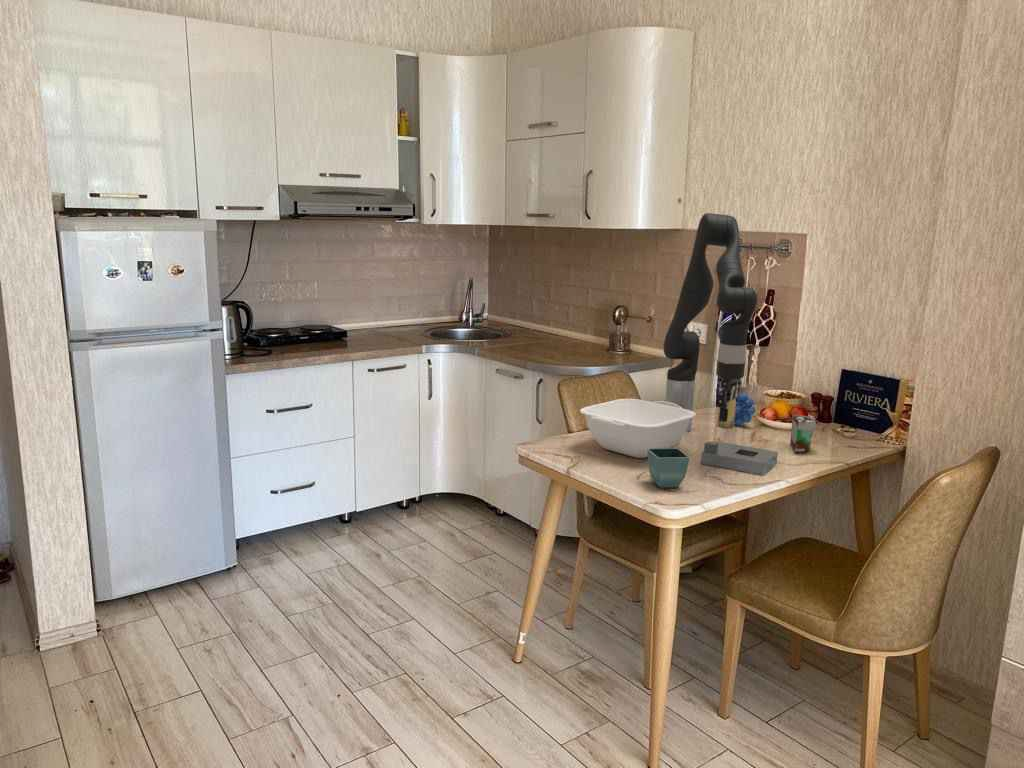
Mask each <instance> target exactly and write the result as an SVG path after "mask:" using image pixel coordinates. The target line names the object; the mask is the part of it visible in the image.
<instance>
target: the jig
mask: <svg viewBox="0 0 1024 768" xmlns="http://www.w3.org/2000/svg"><path fill="white" fill-rule="evenodd" d="M703 445H704V448H703V451H701V457H700V464H701V465H706V466H712V467H718V468H722V469H727V470H731V471H732V470H733V471H737V472H743V473H748V474H754V475H758V476H765V475H766V474H767V473H768V472H770V470H771V469H772V468H773V467H775V465H777V463H778V454H779V452H778V451H775V450H770V449H764V448H758V447H753V446H752V447H751V446H746V445H741V444H735V443H730V442H723V441H718V440H717V441H715V442H714V441H710V440H708V441H706V442H705V443H704V444H703Z"/></svg>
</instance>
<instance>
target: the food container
mask: <svg viewBox="0 0 1024 768" xmlns="http://www.w3.org/2000/svg"><path fill="white" fill-rule="evenodd" d="M791 420H792V421H791V430H790V431H791V432H790V444H789V445H790V449H792V452H793V453H794V455H795V454H796V455H804V454H808V453H809V452H810V451H811V450H810V449H811V444H812V439H813V433H814V429H816V428H817V425H816V424H817V423H816V421H815V419H814V418H813V417H810V416H806V415H803V414H802V415H801V414H795V413H792V417H791Z"/></svg>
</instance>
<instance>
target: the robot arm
mask: <svg viewBox="0 0 1024 768" xmlns="http://www.w3.org/2000/svg"><path fill="white" fill-rule="evenodd" d="M738 224H739V223H738V221H737V219H736V217H734V216H732V215H729V214H720V213H719V214H718V213H709V212H706V213H704V214H703V215H702V216H701V218H700V220H699V223H698V226H697V230H696V233H695V234H696V235H695V239H694V243H693V244H694V245H693V248H692V249H693V250H692V251H691V252H692V253H691V257H690V261H689V265H688V268H687V271H686V274H685V277H684V280H683V283H682V286H681V290H680V294H679V296H678V297H679V299H678V302H677V304H676V308H675V311H674V315H673V318H672V319H671V322H670V325H669V327H668V330H667V331H666V335H665V337H664V341H663V354H664V356H665V357H666V358H667V359H669V360H681V362H680V363H678V364H677V365H676V366H673V367H671V368H669V369H668V370H667V372H666V385H665V386H666V389H665V399H664V400H663V401H666V402H671V403H674V404H677V405H678V406H680V407H682V409H687V410H690V411H693V412H694V401H695V399H694V398H695V387H696V385H695V384H696V381H695V380H696V374H697V372H698V365H699V355H700V348H701V347H700V346H701V343H700V337H699V335H698V333H697V332H695V331H686V328H687V327H688V326H689V324H690V323H691V322H692V321H693V320H694V319H695V318H696V317H697V316H698V315H700V313H702V311H703V310H705V308H706V307H707V305H708V304H709V302H710V298H711V296H712V293H713V290H714V289H713V288H714V283H715V282H714V278H713V275H712V272H711V269H710V267H709V264H708V261H707V257H706V256H707V255H706V253H707V247H708V246H715V247H725V248H726V249H725V251H724V252H723V253H722V255H721V256H720V257H719V259H718V260H717V262H716V266H715V267H716V269H715V271H716V275H717V280H718V294H717V297H716V307H717V308H718V310H719V311H720V312H722V313H724V314H740V315H739V316H738V317H737V319H734V320H728V321H725V322H723V323H722V324H721V327H720V336H719V337H720V338H719V344H718V345H719V346H718V350H717V358H716V359H717V361H716V370H715V371H716V372H715V375H716V376H717V377H719V378H721V381H720V382H719V383H720V384H719V387H716V388H715V391H716V392H715V394H716V396H715V397H716V398H715V399H716V408H718V409H719V408H720V411H719V410H718V412H719V421H722V422H726V421H727V418H728V408H729V402H730V401H731V400H732V398H734V399H736V402H737V401H738V398H739V395H740V393H741V385H742V380H740V379H743V378H744V377H745V370H746V361H747V339H748V338H747V337H748V331H749V326H750V323H751V321H752V318H753V314H754V313H755V309H756V307H757V305H758V294H757V292H756V291H755V290H754V289H753V288H752V287H745V284H746V278H745V274H744V271H743V266H742V263H741V254H740V251H741V250H740V231H739V225H738ZM726 397H728V398H726ZM722 401H723V403H722ZM692 425H693V418H691V419H690V421H689V424H688V426H687V429H686V431H685V433H687V432H690V431H692Z"/></svg>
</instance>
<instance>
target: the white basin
mask: <svg viewBox="0 0 1024 768" xmlns="http://www.w3.org/2000/svg"><path fill="white" fill-rule="evenodd" d="M579 413H581V414H582V415H584V417H585V421H586V425H587V427H588V430H589V432H590V434H591V436H592V437H593V438H594V440H595V441H596V442H597V443H598V444H599V445H600V446H601V447H602V448H603V449H606V450H607V451H611V452H615V453H619V454H623V455H626V456H629V457H632V458H637V459H645V458H648V450H647V449H651V448H673V447H674V446H676V445H677V443H679V441H680V440H681V439H682V438H683V436H684V435H685V433H686V432H685V431H686V429H687V426H688V424H689V421H690V419H691V418H692V419H693V418H696V416H697V415H696V412H695V411H694V410H693V411H690V410H687V409H682V407H680V406H678V405H677V404H674V403H671V402H666V401H664V400H660V401H658V400H657V401H648V400H643V399H637V398H620V399H613V400H610V401H606V402H601V403H597V404H593V405H589V406H584V407H582V408H580V410H579Z"/></svg>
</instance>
